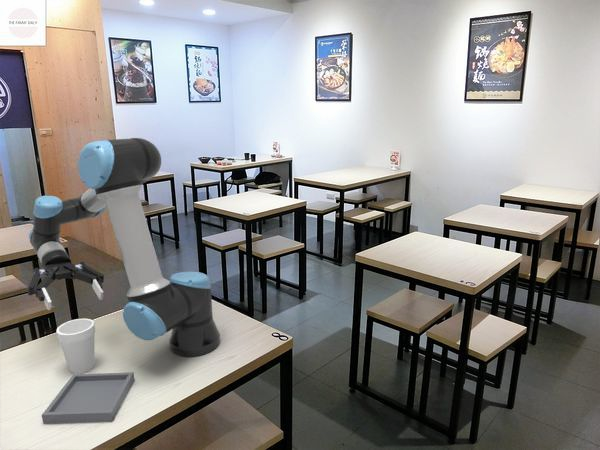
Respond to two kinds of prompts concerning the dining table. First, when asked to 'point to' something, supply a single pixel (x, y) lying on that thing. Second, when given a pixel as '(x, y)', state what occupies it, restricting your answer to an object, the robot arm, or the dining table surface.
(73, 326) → the foam cup
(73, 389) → the serving tray
